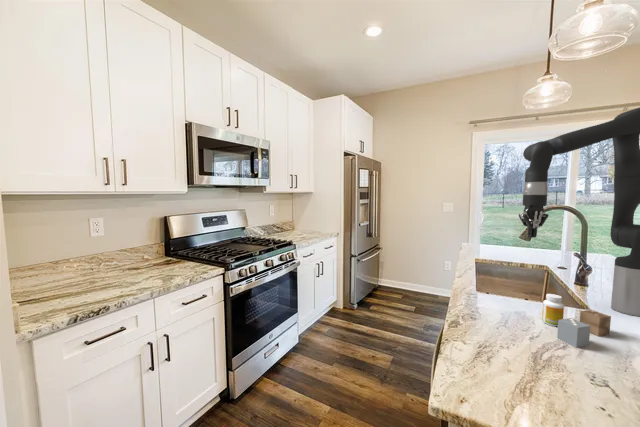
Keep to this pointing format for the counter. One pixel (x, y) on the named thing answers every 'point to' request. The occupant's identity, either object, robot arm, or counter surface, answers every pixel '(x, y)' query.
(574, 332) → the slate three pip block
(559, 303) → the supplement bottle
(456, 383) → the counter surface
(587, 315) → the walnut two pip block
